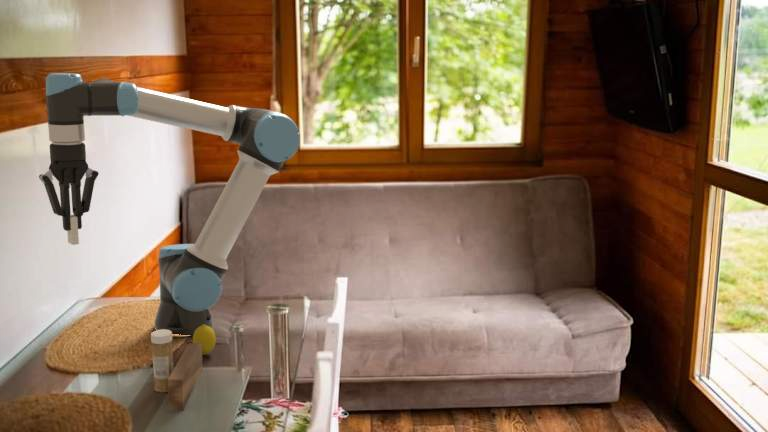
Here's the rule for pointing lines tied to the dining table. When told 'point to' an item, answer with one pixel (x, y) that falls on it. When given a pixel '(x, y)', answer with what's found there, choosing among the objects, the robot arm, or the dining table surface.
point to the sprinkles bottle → (162, 358)
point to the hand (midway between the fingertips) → (73, 243)
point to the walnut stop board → (185, 376)
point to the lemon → (205, 338)
